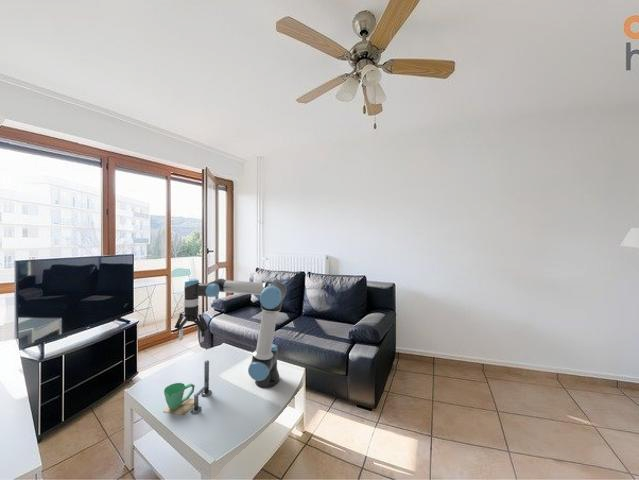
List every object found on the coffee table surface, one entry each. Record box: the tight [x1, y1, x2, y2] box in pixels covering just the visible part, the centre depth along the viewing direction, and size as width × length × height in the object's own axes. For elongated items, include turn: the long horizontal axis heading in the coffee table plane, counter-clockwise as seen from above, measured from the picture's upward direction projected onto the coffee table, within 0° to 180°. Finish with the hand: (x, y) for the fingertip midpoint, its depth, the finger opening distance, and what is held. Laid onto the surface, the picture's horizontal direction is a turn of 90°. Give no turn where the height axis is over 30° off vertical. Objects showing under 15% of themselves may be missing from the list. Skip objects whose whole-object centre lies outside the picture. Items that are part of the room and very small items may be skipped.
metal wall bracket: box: [190, 360, 213, 415], centre depth 143 cm, size 8×19×19 cm, turn 171°
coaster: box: [163, 397, 194, 416], centre depth 140 cm, size 12×12×1 cm
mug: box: [163, 382, 195, 410], centre depth 140 cm, size 15×10×10 cm
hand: (191, 340), depth 155 cm, fingers open, 13 cm apart
